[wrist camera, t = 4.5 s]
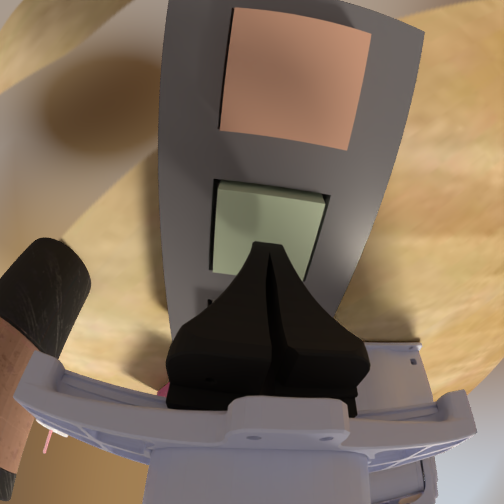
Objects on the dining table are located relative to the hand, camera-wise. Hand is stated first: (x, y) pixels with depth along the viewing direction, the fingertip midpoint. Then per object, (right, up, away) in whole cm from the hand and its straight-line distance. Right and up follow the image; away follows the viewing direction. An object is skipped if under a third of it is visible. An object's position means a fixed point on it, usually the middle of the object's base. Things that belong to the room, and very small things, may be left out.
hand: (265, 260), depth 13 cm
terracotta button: (+1, +8, -3) cm, 8 cm away
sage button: (0, +2, +3) cm, 4 cm away
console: (0, +3, +4) cm, 5 cm away
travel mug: (-18, -1, +8) cm, 20 cm away
